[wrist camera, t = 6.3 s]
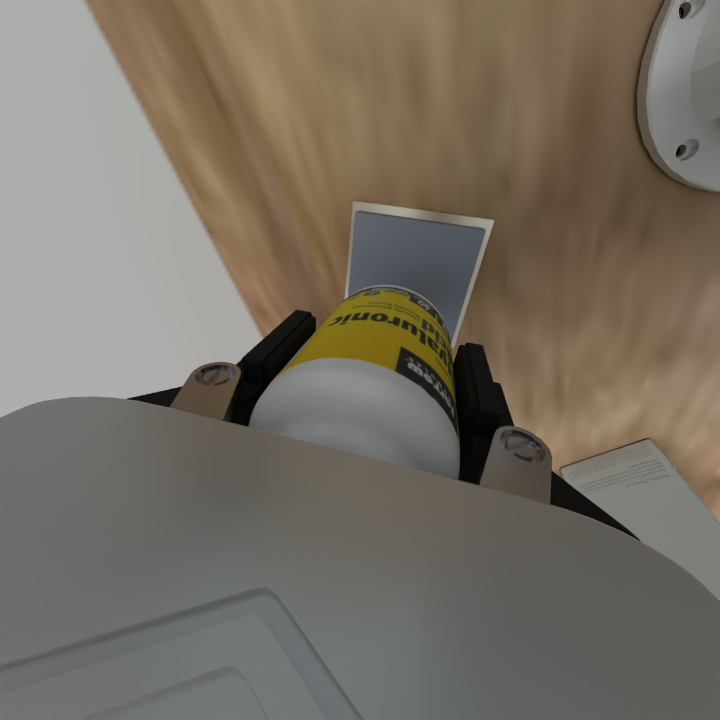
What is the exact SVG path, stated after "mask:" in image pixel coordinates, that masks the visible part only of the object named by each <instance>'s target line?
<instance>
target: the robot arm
mask: <svg viewBox="0 0 720 720" xmlns="http://www.w3.org/2000/svg"><path fill="white" fill-rule="evenodd" d="M679 7H681V8H683V10H684V14H683V17H682V19H681V18H680V16H679V13H678V11H679ZM637 118H638V124H639V128H640V131H641V135H642V139H643V143H644V145H645V147H646V148H647V150H648V152H649V154H650V155H651V157H652V159H653V161H654V162H655V163H656V164H657V165H658V166H659V167H660V168H661V169H662V170H663V171H664V172H665V173H666V174H667V175H668V176H669V177H671V178H673V179H675V180H677V181H679V182H681V183H683V184H685V185H687V186H689V187H692V188H696V189H701V190H705V191H710V192H720V0H665V1H664V3H663V5H662V8H661V10H660V12H659V14H658V16H657V18H656V20H655V22H654V25H653V28H652V31H651V34H650V37H649V40H648V43H647V46H646V49H645V53H644V56H643V59H642V64H641V70H640V76H639V82H638V88H637ZM679 146H680V152H679V154H678V155H677V156H676V155H675V154H676V151H677V148H678V147H679ZM315 331H316V318H315V317H313V316H312V314H311V312H306V311H301V310H296V311H294V312H293V313H292V314H291V315H290V316H289V317H288V318H287V319H285V320H284V321H283V322H282V323H281V324H280V325H279V326H278V327H276V328H275V329H274V330H273V331H272V332H271V333H270V334H269V335H267V336H266V337H265V338H264V339H263V340H262V341H261V342H260V343H259V344H257V345H256V346H255V347H254V348H253V349H252V350H251V351H250V352H248V353H247V354H246V355H245V356H244V357H243V358H242V360H241V361H240V362H239V363H237V364H236V365H234V364H231V363H226V362H215V363H209V364H206V365H203V366H200V367H199V368H197V369H196V370H194V371H193V372H192V373H191V375H190V376H189V378H188V379H187V381H186V382H185V384H184V386H182V387H178V388H173V389H169V390H164V391H160V392H156V393H151V394H146V395H142V396H137V397H133V398H128V399H120V398H110V397H70V398H61V399H54V400H48V401H42V402H38V403H35V404H32V405H29V406H26V407H24V408H21V409H19V410H16V411H14V412H12V413H10V414H8V415H5V416H3V417H1V418H0V720H720V601H719V600H718V599H717V598H716V597H715V596H714V595H713V594H712V593H711V592H710V591H709V590H708V589H707V588H706V587H705V586H704V585H703V584H702V583H701V582H700V581H699V580H698V579H696V578H695V577H694V576H693V575H692V574H691V573H689V572H688V571H687V570H685V569H684V568H683V567H681V566H680V565H678V564H677V563H675V562H674V561H672V560H671V559H669V558H668V557H666V556H665V555H663V554H662V553H660V552H658V551H657V550H655V549H653V548H652V547H650V546H648V545H646V544H644V543H642V542H641V541H640V539H639V538H638V537H636V536H635V535H634V534H633V533H632V532H631V531H630V530H628V529H627V528H626V527H625V526H623V525H622V524H621V523H619V522H618V521H617V520H615V519H614V518H613V517H611V516H610V515H609V514H608V513H606V512H605V511H604V510H602V509H601V508H600V507H598V506H597V505H596V504H595V503H593V502H592V501H591V500H589V499H588V498H587V497H585V496H584V495H583V494H581V493H580V492H579V491H578V490H576V489H575V488H574V487H572V486H571V485H570V484H568V483H567V482H566V481H565V480H563V479H562V478H561V477H559V476H558V475H557V474H555V473H554V472H553V471H551V470H552V456H551V451H550V450H549V448H548V447H547V445H546V444H545V443H544V442H543V441H542V440H541V439H540V438H538V437H537V436H536V435H534V434H533V433H531V432H529V431H527V430H525V429H522V428H519V427H514V424H513V421H512V418H511V415H510V412H509V409H508V406H507V402H506V399H505V396H504V393H503V390H502V387H501V385H500V384H499V383H496V382H493V379H492V376H491V372H490V369H489V365H488V362H487V359H486V355H485V352H484V348H483V346H482V345H479V344H473V343H468V342H467V343H466V344H465V346H464V345H460V346H459V348H458V351H457V354H456V357H455V360H454V363H453V372H454V383H455V396H456V408H457V418H458V430H459V440H460V469H459V478H458V480H457V479H453V478H449V477H445V476H442V475H438V474H434V473H430V472H426V471H422V470H418V469H414V468H410V467H406V466H402V465H398V464H394V463H390V462H386V461H382V460H378V459H374V458H370V457H366V456H362V455H358V454H354V453H350V452H346V451H342V450H338V449H334V448H330V447H326V446H322V445H318V444H315V443H311V442H307V441H303V440H299V439H295V438H291V437H287V436H283V435H279V434H275V433H271V432H267V431H263V430H259V429H255V428H251V427H248V426H249V421H250V417H251V414H252V412H253V409H254V407H255V405H256V403H257V401H258V400H259V398H260V397H261V395H262V394H263V393H264V391H265V390H266V388H267V387H268V386H269V384H270V383H271V382H272V381H273V379H274V378H275V377H276V376H277V375H278V374H279V373H280V371H281V370H282V369H283V368H284V367H285V366H286V365H287V364H288V362H289V361H290V360H291V359H292V358H293V357H294V356H295V354H296V353H297V352H298V351H299V350H300V348H301V347H302V346H303V345H304V344H305V343H306V342H307V341H308V339H309V338H310V337H311V336H312V335H313V334H314V332H315Z"/></svg>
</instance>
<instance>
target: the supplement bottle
mask: <svg viewBox="0 0 720 720" xmlns="http://www.w3.org/2000/svg"><path fill="white" fill-rule="evenodd" d="M248 427H251V428H255V429H259V430H263V431H267V432H271V433H275V434H279V435H283V436H287V437H291V438H295V439H299V440H303V441H307V442H311V443H315V444H318V445H322V446H326V447H330V448H334V449H338V450H342V451H346V452H350V453H354V454H358V455H362V456H366V457H370V458H374V459H378V460H382V461H386V462H390V463H394V464H398V465H402V466H406V467H410V468H414V469H418V470H422V471H426V472H430V473H434V474H438V475H442V476H445V477H449V478H453V479H457V480H458V478H459V469H460V440H459V430H458V418H457V408H456V396H455V383H454V372H453V361H452V349H451V340H450V336H449V332H448V328H447V325H446V323H445V321H444V319H443V317H442V315H441V314H440V312H439V311H438V310H437V308H436V307H435V306H434V305H433V304H432V303H431V302H430V301H428V300H427V299H426V298H425V297H423V296H422V295H420V294H418V293H417V292H415V291H413V290H410V289H407V288H404V287H401V286H396V285H375V286H370V287H366V288H363V289H361V290H359V291H356V292H355V293H353V294H351V295H350V296H348V297H347V298H346V299H345V300H344V301H343V302H341V303H340V305H339V306H338V307H337V308H336V309H335V310H334V311H333V312H332V313H331V314H330V315H329V316H328V318H327V319H326V320H325V321H324V322H323V323H322V324H321V326H320V327H319V328H318V329H317V330H316V331H315V332H314V334H313V335H312V336H311V337H310V338H309V339H308V341H307V342H306V343H305V344H304V345H303V346H302V347H301V348H300V350H299V351H298V352H297V353H296V354H295V356H294V357H293V358H292V359H291V360H290V361H289V362H288V364H287V365H286V366H285V367H284V368H283V369H282V370H281V371H280V373H279V374H278V375H277V376H276V377H275V378H274V379H273V381H272V382H271V383H270V384H269V386H268V387H267V388H266V390H265V391H264V393H263V394H262V395H261V397H260V398H259V400H258V401H257V403H256V405H255V407H254V409H253V412H252V414H251V417H250V421H249V426H248Z"/></svg>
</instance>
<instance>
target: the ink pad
mask: <svg viewBox="0 0 720 720" xmlns="http://www.w3.org/2000/svg"><path fill="white" fill-rule="evenodd" d="M485 232H486V230H485V229H484V228H479V227H472V226H465V225H458V224H451V223H444V222H437V221H430V220H423V219H416V218H409V217H402V216H395V215H387V214H380V213H373V212H366V211H356V212H355V220H354V231H353V242H352V254H351V265H350V277H349V288H348V296H350V295H351V294H353V293H355V292H356V291H359V290H361V289H363V288H366V287H370V286H375V285H396V286H401V287H404V288H407V289H410V290H413V291H415V292H417V293H418V294H420V295H422V296H423V297H425V298H426V299H427V300H428V301H430V302H431V303H432V304H433V305H434V306H435V307H436V308H437V310H438V311H439V312H440V314H441V315H442V317H443V319H444V321H445V323H446V325H447V328H448V332H449V336H450V340H451V343H452V340H453V336H454V333H455V330H456V327H457V323H458V320H459V317H460V314H461V310H462V307H463V304H464V301H465V297H466V294H467V291H468V288H469V284H470V281H471V278H472V275H473V271H474V268H475V265H476V262H477V258H478V255H479V252H480V249H481V245H482V242H483V239H484V236H485Z"/></svg>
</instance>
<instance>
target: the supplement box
mask: <svg viewBox="0 0 720 720" xmlns="http://www.w3.org/2000/svg"><path fill="white" fill-rule="evenodd" d="M561 473H562V475H563V478H564V480H565V481H566V482H567V483H568V484H570V485H571V486H572V487H574V488H575V489H576V490H578V491H579V492H580V493H581V494H583V495H584V496H585V497H587V498H588V499H589V500H591V501H592V502H593V503H595V504H596V505H597V506H598V507H600V508H601V509H602V510H604V511H605V512H606V513H608V514H609V515H610V516H611V517H613V518H614V519H615V520H617V521H618V522H619V523H621V524H622V525H623V526H625V527H626V528H627V529H628V530H630V531H631V532H632V533H633V534H634V535H635V536H636V537H638V538H639V539H640V541H641V542H642V543H644V544H646V545H648V546H650V547H652V548H653V549H655V550H657V551H658V552H660V553H662V554H663V555H665V556H666V557H668V558H669V559H671V560H672V561H674V562H675V563H677V564H678V565H680V566H681V567H683V568H684V569H685V570H687V571H688V572H689V573H691V574H692V575H693V576H694V577H695V578H696V579H698V580H699V581H700V582H701V583H702V584H703V585H704V586H705V587H706V588H707V589H708V590H709V591H710V592H711V593H712V594H713V595H714V596H715V597H716V598H717V599H718V600H719V601H720V523H719V521H718V520H717V519H716V518H715V516H714V515H713V514H712V513H711V512H710V510H709V509H708V508H707V507H706V506H705V504H704V503H703V502H702V501H701V499H700V498H699V497H698V496H697V495H696V493H695V492H694V491H693V490H692V488H691V487H690V486H689V485H688V484H687V482H686V481H685V480H684V479H683V477H682V476H681V475H680V474H679V473H678V471H677V470H676V469H675V468H674V466H673V465H672V464H671V463H670V462H669V460H668V459H667V458H666V457H665V456H664V455H663V453H662V452H661V451H660V450H659V449H658V448H657V446H656V445H655V444H654V443H653V441H652V440H650V439H647V440H644V441H640V442H638V443H634V444H631V445H628V446H625V447H622V448H619V449H616V450H613V451H610V452H607V453H604V454H601V455H598V456H595V457H592V458H589V459H586V460H583V461H580V462H577V463H574V464H571V465H568V466H566V467H563V468H562V469H561Z"/></svg>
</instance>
